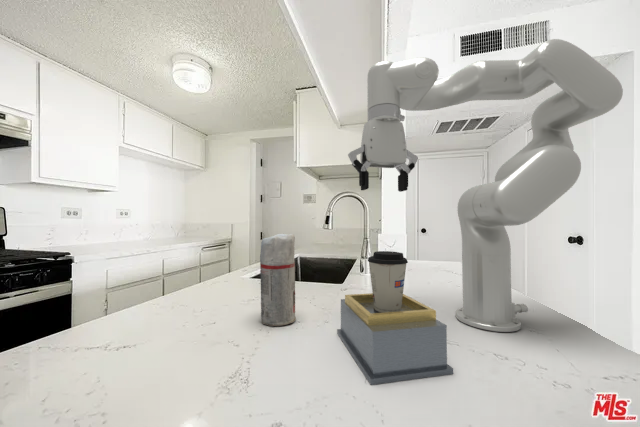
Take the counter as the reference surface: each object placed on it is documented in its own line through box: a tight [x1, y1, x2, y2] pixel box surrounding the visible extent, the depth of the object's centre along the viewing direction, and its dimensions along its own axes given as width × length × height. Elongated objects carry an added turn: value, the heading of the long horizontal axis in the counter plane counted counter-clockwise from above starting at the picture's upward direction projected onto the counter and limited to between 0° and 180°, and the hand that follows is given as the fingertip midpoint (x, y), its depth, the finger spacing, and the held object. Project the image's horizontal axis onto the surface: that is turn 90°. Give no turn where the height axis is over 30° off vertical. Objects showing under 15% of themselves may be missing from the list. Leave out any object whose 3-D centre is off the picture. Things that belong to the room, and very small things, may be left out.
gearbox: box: [336, 292, 454, 386], centre depth 46 cm, size 17×15×8 cm
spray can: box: [259, 233, 297, 327], centre depth 60 cm, size 8×8×20 cm
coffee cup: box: [367, 250, 409, 313], centre depth 46 cm, size 7×7×10 cm
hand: (383, 190), depth 61 cm, fingers open, 9 cm apart
